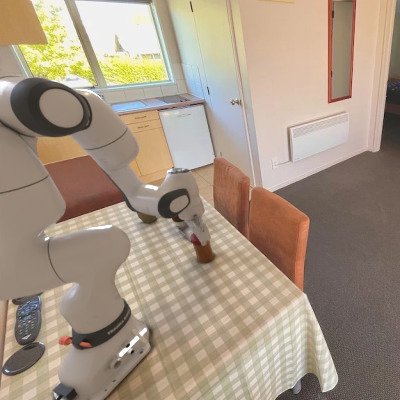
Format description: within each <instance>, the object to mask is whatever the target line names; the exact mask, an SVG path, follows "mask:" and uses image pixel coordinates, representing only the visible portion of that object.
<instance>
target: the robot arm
mask: <svg viewBox="0 0 400 400" xmlns="http://www.w3.org/2000/svg"><path fill="white" fill-rule="evenodd" d="M68 136H69V137H70V138H72V139H73V140H74V142H76V144H78V146H79V147H80V148H82V150H83V151H84V152H85V153H86V154H88V156H89V157H90V158H92V159H93V161H94V162H95V163H96V164H97V166H98V167H99V168H100V170H101V171H102V172H103V173H104V174H105V176H106V177H107V178H108V179H109V180H110V182H112V184H113V185H114V186H115V187H116V188H117V189H118V190H119V191H120V193H121V195H122V198H123V200H124V203H125V204H126V207H127V208H128V210H130V211H131V212H134V213H136V214H137V213H143V214H148V215H152V216H156V218H161V219H172V218H174V217H176V216H177V215H178V216H179V218H180V219H182V220H185V222H186V223H187V224H188V226H189V227H190V229H191V230H192V231H193V233H194V234H195V235H196V237H197V238H198V239H199V241H200V243H201V245H202V246H204V245H206V244H207V243H206V242H207V241H211V239H212V237H211V233H210V230H209V227H208V225H207V223H206V221H205V220H204V219H203V218H202V217H203V215H204V214H205V212H206V210H205V206H204V203H203V200H202V197H201V196H200V189H199V184H198V183H197V179H196V177H195V175H194V173H193V172H192V170H190V169H188V168H184V167H176V168H175V167H174V168H170V169H168V170H167V171H166V173H165V178H164V180H163V181H162V183H161V184H160V185H159V186H157V185H153V184H150V183H147V182H144V181H143V180H141V179H140V178H139V176H138V175H137V174H136V172H135V171H134V170H133V168H132V167H131V166H130V164H131V163H133V161H135V159H136V158H137V157H138V155H139V153H140V143H139V141H138V139H137V137H136V135H135V134H134V132H133V131H132V130H131V128H129V127H128V125H127V124H126V123H125V121H124V120H123V119H122V118H121V117H120V115H119V114H118V113H117V112H116V111H115V110H114V108H112V107H111V106H110V105H109V104H108V103H107V102H106V101H105V100H104V99H102V97H100V96H99V95H98V94H97V93H95V92H93V91H91V90H88V89H82V88H81V89H80V88H79V89H73V88H72V87H70V86H68V85H66V84H64V83H62V82H60V81H56V80H54V79H50V78H47V77H46V78H45V77H36V76H35V77H29V76H19V75H0V302H6V301H10V300H16V299H22V298H26V297H27V298H28V297H32V296H35V295H38V294H42V293H44V292H46V291H51V290H53V289H55V288H56V289H57V288H59V287H61V286H65V285H67V284H73V283H74V284H73V285H72V286H71V287H70V288H69V289H68V290H67V291H65V293H64V294H63V296H62V297H61V299H60V301H59V305H58V309H59V313H60V314H61V316H62V317H63V318H64V320H65V322H67V324H69V326H70V327H71V336H68V335H62V336H61V337H59V339H58V342H57V343H58V345H60V346H65V347H67V346H69V345H70V347H69V349H68V351H67V353H66V355H65V358H64V359H63V361H62V363H61V365H60V367H59V369H58V371H57V377H58V380H59V382H58V383H57V384H56V386H55V387H54V388H53V389H52V393H53V396H54V399H55V400H105V399H106V398H107V397H109V395H110V394H111V393H112V392H113V391H114V390H115V388H117V387H118V385H119V384H121V382H122V381H123V380H124V379H125V378H126V377H127V376H128V375H129V374H130V373H131V371H133V370H134V368H136V366H137V365H138V364H139V363H140V362H141V361H142V360H143V359H144V358H145V357H146V356H147V355H148V354H149V352H151V349H152V346H151V344H150V340H149V339H150V330H149V327H148V326H147V325H146V324H144V323H143V322H141V321H140V320H139V319H138V318H137V317H136V316H135V315H134V314H133V313H132V308H131V307H130V305H129V304H128V302H127V301H126V299H125V298H123V297H122V296H121V293H120V291H119V290H118V288H117V286H116V274H117V272H118V270H119V269H120V267H121V266H122V265H124V263H125V262H126V261H127V259H128V257H129V256H130V254H131V246H132V245H131V240H130V238H129V235H128V234H127V233H126V232H125V231H124V230H123V229H122V228H120V227H118V226H116V225H113V224H112V225H109V224H108V225H100V226H92V227H86V228H83V229H79V230H75V231H71V232H67V233H64V234H60V235H57V236H51V237H50V236H48V235H47V234H46V233H45V231H46V230H47V229H49V228H51V227H52V226H53V225H55V224H57V222H58V221H59V220H61V219H62V217H63V216H64V215H65V213H66V210H67V204H66V201H65V199H64V197H63V196H62V194H61V192H60V190H59V189H58V187H57V185H56V183H55V182H54V179H53V178H52V176H51V175H50V173H49V171H48V169H47V168H46V167H45V165H44V163H43V162H42V161H41V159H40V158H39V157H40V155H39V153H38V140H39V138H46V137H47V138H62V137H63V138H64V137H68Z"/></svg>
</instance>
